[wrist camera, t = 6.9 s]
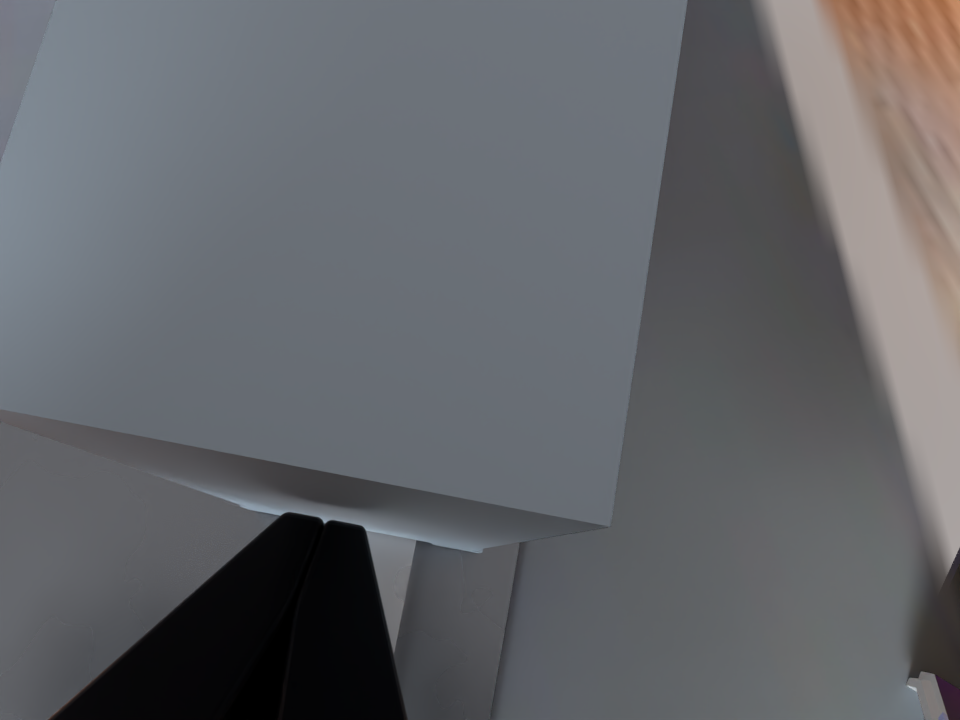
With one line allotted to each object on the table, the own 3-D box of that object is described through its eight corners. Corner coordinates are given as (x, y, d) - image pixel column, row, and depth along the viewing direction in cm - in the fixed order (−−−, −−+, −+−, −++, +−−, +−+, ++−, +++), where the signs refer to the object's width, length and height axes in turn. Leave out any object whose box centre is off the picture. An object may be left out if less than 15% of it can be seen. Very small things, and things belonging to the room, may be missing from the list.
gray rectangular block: (477, 553, 17) (644, 532, 5) (207, 501, 17) (-258, 360, 5) (514, 353, 18) (724, -47, 6) (258, 302, 18) (-31, -212, 6)
